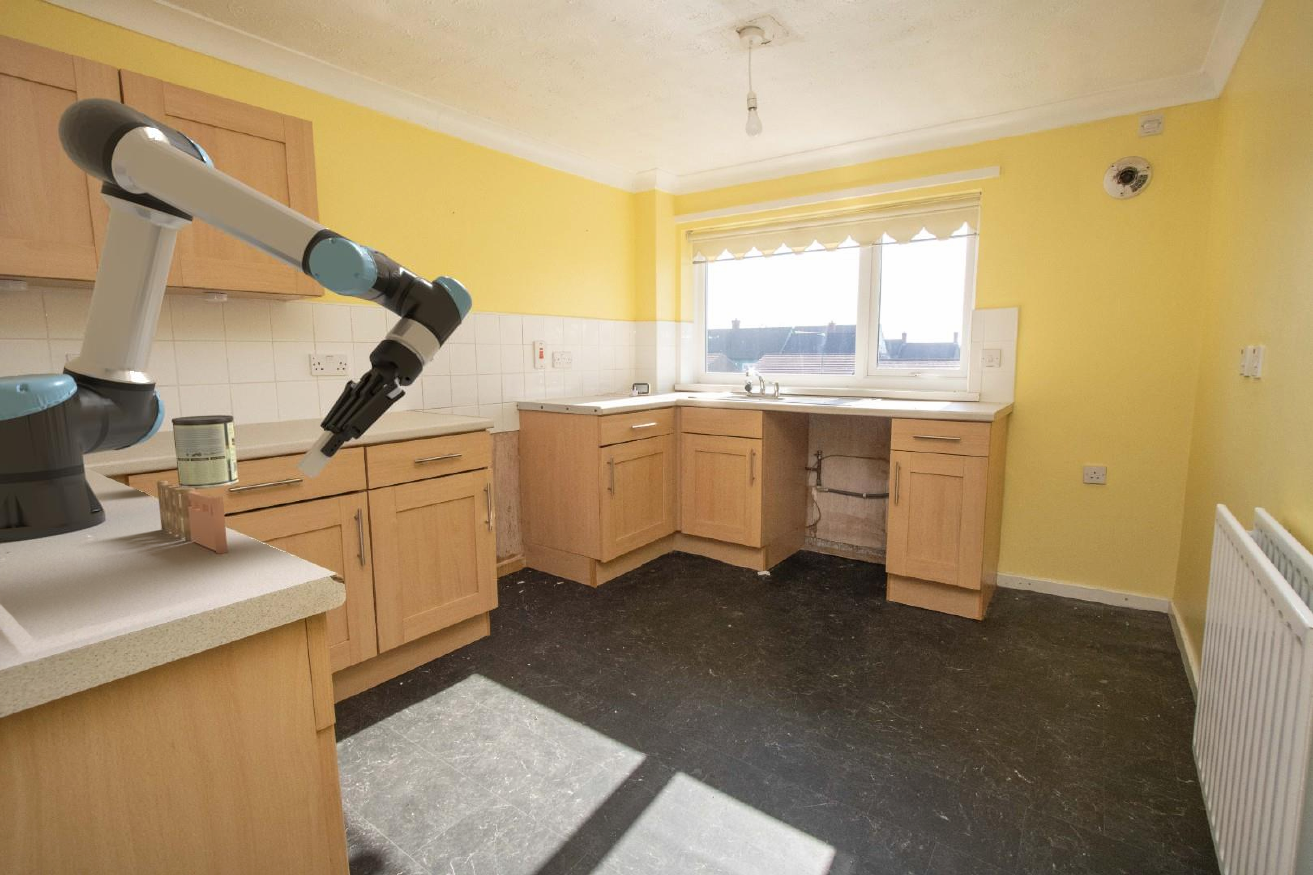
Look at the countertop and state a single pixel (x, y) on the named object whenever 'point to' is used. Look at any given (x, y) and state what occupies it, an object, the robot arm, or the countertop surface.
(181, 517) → the fence anchor
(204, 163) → the robot arm
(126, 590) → the countertop surface
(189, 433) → the coffee can
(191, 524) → the fence gate
